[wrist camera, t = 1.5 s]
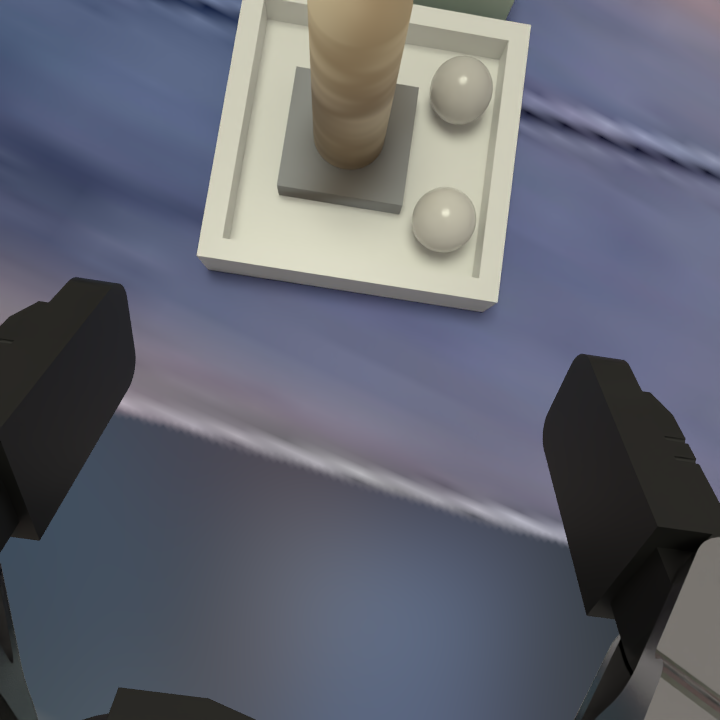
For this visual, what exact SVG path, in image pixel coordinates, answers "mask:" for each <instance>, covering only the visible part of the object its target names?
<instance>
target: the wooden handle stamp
mask: <svg viewBox="0 0 720 720" xmlns="http://www.w3.org/2000/svg"><path fill="white" fill-rule="evenodd" d="M307 7H308V29H309V50H310V69H309V68H303V67H298V66H296V72H295V78H294V84H293V90H292V96H291V102H290V108H289V114H288V120H287V126H286V132H285V138H284V144H283V150H282V157H281V163H280V169H279V175H278V181H277V189H278V193H279V195H282V196H288V197H294V198H300V199H307V200H313V201H319V202H325V203H331V204H338V205H344V206H350V207H356V208H362V209H368V210H375V211H381V212H387V213H393V214H400V211H401V208H402V206H403V198H404V191H405V184H406V177H407V170H408V163H409V156H410V149H411V142H412V135H413V128H414V120H415V113H416V106H417V99H418V92H419V87H414V86H408V85H402V84H396V83H397V78H398V74H399V69H400V64H401V60H402V55H403V50H404V45H405V41H406V36H407V31H408V26H409V22H410V17H411V12H412V7H413V0H307Z"/></svg>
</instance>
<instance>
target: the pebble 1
mask: <svg viewBox="0 0 720 720" xmlns="http://www.w3.org/2000/svg"><path fill="white" fill-rule="evenodd" d="M492 93H493V82H492V77H491V75H490V72H489V70H488V69H487V67H486V66H485V65H484V64H483V63H482V62H481V61H480V60H478V59H476V58H474V57H471V56H456V57H453V58H451V59H449V60H447V61H446V62H444V63H443V64H442V65H441V66H440V67H439V68H438V70H437V71H436V72H435V74H434V76H433V78H432V81H431V85H430V100H431V104H432V107H433V109H434V111H435V112H436V114H437V115H438V116H439V117H440V118H441V119H443V120H444V121H446V122H448V123H451V124H456V125H461V124H467V123H470V122H472V121H474V120H476V119H477V118H478V117H480V116H481V115H482V114H483V113H484V112H485V110H486V109H487V107H488V105H489V103H490V101H491V98H492Z"/></svg>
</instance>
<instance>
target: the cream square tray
mask: <svg viewBox="0 0 720 720" xmlns="http://www.w3.org/2000/svg"><path fill="white" fill-rule="evenodd" d="M530 28H531V25H527V24H521V23H516V22H510V21H505V20H499V19H494V18H488V17H482V16H477V15H471V14H466V13H460V12H454V11H449V10H443V9H438V8H432V7H427V6H421V5H415V4H413V7H412V12H411V17H410V22H409V26H408V31H407V36H406V41H405V45H404V50H403V55H402V60H401V64H400V69H399V74H398V78H397V83H396V84H402V85H408V86H414V87H419V92H418V99H417V106H416V113H415V120H414V128H413V135H412V142H411V149H410V156H409V163H408V170H407V177H406V184H405V191H404V198H403V206H402V208H401V211H400V214H393V213H387V212H381V211H375V210H368V209H362V208H356V207H350V206H344V205H338V204H331V203H325V202H319V201H313V200H307V199H300V198H294V197H288V196H282V195H279V193H278V189H277V181H278V175H279V169H280V163H281V157H282V150H283V144H284V138H285V132H286V126H287V120H288V114H289V108H290V102H291V96H292V90H293V84H294V78H295V72H296V66H298V67H303V68H309V69H310V50H309V29H308V7H307V0H242V5H241V11H240V16H239V22H238V27H237V33H236V39H235V44H234V50H233V55H232V61H231V66H230V72H229V78H228V83H227V89H226V94H225V100H224V106H223V111H222V117H221V122H220V128H219V134H218V139H217V145H216V150H215V156H214V161H213V167H212V173H211V178H210V184H209V189H208V195H207V201H206V206H205V212H204V217H203V223H202V228H201V234H200V240H199V245H198V251H197V257H198V258H199V259H200V260H201V261H202V263H203V264H204V265H205V266H206V268H207V269H208V270H214V271H221V272H227V273H234V274H240V275H246V276H253V277H259V278H266V279H272V280H279V281H285V282H292V283H298V284H304V285H311V286H317V287H324V288H330V289H337V290H343V291H350V292H356V293H363V294H369V295H375V296H382V297H388V298H395V299H401V300H408V301H414V302H421V303H427V304H433V305H440V306H446V307H453V308H459V309H466V310H472V311H479V312H484V311H485V310H487V309H488V308H490V307H491V306H493V305H494V304H496V303H497V302H498V294H499V286H500V277H501V269H502V261H503V252H504V244H505V236H506V227H507V219H508V211H509V203H510V194H511V186H512V178H513V169H514V161H515V153H516V144H517V136H518V128H519V120H520V111H521V103H522V95H523V86H524V78H525V70H526V61H527V53H528V45H529V37H530ZM456 56H471V57H474V58H476V59H478V60H480V61H481V62H482V63H483V64H484V65H485V66H486V67H487V69H488V70H489V72H490V75H491V77H492V82H493V93H492V98H491V101H490V103H489V105H488V107H487V109H486V110H485V112H484V113H483V114H482V115H481V116H480V117H478V118H477V119H476V120H474V121H472V122H470V123H467V124H461V125H456V124H451V123H448V122H446V121H444V120H443V119H441V118H440V117H439V116H438V115H437V114H436V112H435V111H434V109H433V107H432V104H431V100H430V85H431V81H432V78H433V76H434V74H435V72H436V71H437V70H438V68H439V67H440V66H441V65H442V64H443V63H444V62H446V61H447V60H449V59H451V58H453V57H456ZM439 187H452V188H455V189H458V190H460V191H462V192H463V193H464V194H466V195H467V196H468V197H469V199H470V200H471V201H472V203H473V205H474V208H475V211H476V226H475V230H474V232H473V234H472V236H471V238H470V239H469V240H468V241H467V243H466V244H464V245H463V246H462V247H460V248H459V249H457V250H454V251H451V252H446V253H440V252H435V251H432V250H429V249H427V248H426V247H424V246H423V245H422V244H421V243H420V242H419V241H418V239H417V238H416V236H415V234H414V231H413V227H412V214H413V210H414V208H415V206H416V204H417V202H418V201H419V199H420V198H421V197H422V196H423V195H424V194H426V193H427V192H429V191H430V190H432V189H435V188H439Z"/></svg>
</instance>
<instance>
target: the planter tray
mask: <svg viewBox="0 0 720 720" xmlns="http://www.w3.org/2000/svg"><path fill="white" fill-rule="evenodd" d="M513 3H514V0H413V4H415V5H421V6H427V7H432V8H438V9H443V10H449V11H454V12H460V13H466V14H471V15H477V16H482V17H488V18H494V19H499V20H506V18H507V16H508V14H509V11H510V9H511V7H512V5H513Z"/></svg>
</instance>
